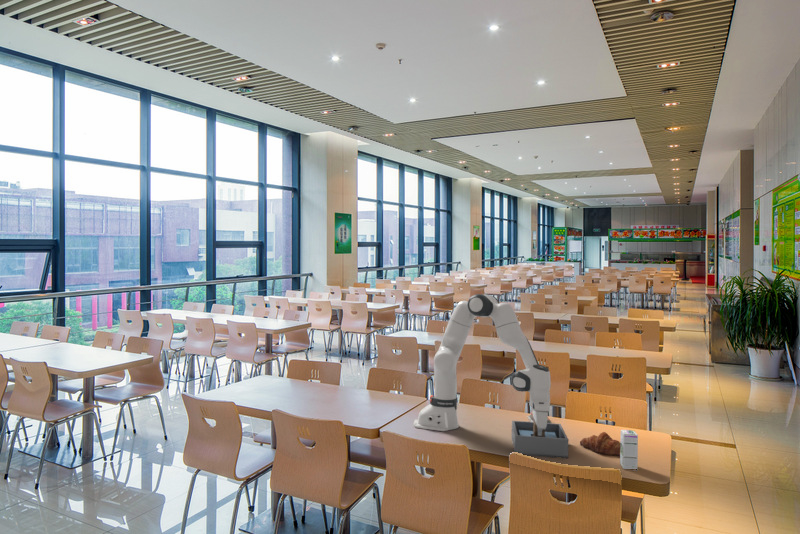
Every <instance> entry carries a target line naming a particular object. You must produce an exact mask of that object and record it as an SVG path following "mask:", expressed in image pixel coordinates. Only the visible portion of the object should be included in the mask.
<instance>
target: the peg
mask: <svg viewBox="0 0 800 534" xmlns="http://www.w3.org/2000/svg"><path fill="white" fill-rule="evenodd" d="M537 431H538V428H537V425H536V423H535V422H534V424H533V436H536V437H545V429H543V430H542V436H538V434H537Z"/></svg>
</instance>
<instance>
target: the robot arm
mask: <svg viewBox="0 0 800 534" xmlns="http://www.w3.org/2000/svg"><path fill="white" fill-rule="evenodd" d="M477 317H480V318H491V320H492V321H493V324H494V327H495V329H496V330H495V332H496V334H497V337H498V339H499V341H500V342H501V343H502V344H504V345H505V346H509V347H512V348H513V349H515V350H516V351H518V353H519V355H520V356H521V359H522V361H523V364H524V366H525V368H524V369H520V370H516V371H514V372H513V373H512V375H511V379H510V382H511V385H512V387H513V389H514V390H515V391H516V392H528V393H529V403H528V404H529V407H531V409H532V411H533V417H534V420H535V423H536V425H537V428H538V431H537V434H538V436H542V430H543V429H546V426H547V418H549V417H548V416H549V412H550V411H551V410H550V408H551V393H550V389H551V387H552V386H551V385H552V383H551V372H550V369H549V368H548V367H547V366H545V365H542V364H540V363H539V361H538V360H537V358H536V355H535V352H534V350H533V347H532V345H531V344H530V341H529V339H528V338H527V336H526V335H525V334H524V333H523V330H522V328H521V325H520V322H519V319H518V317H517V314H516V312H515V309H514V308H513V306H512V305H511V304H510V303H508V302H500V301H499V299H497V297H495V296H493V295H489V294H487V293H486V294H485V293H484V294H483V293H475V294H473V295H472V296H471V297H470V298H469V299H468V300H460V301H459V302H458V303H457V304H456V306H455V308H454V309H453V310H452V313H451V316H450V318H449V320H448V322H447V325H446V328H445V331H444V334H443V336H442V339H441V343H440V345H439V348H438V350H437V352H436V353H435V355H434V357H433V377H434V388H433V389H434V393H433V394H434V395H433V394H432V395H430V396H429V404H428V405H425V407H423V408H422V409H421V410H420V411H419V412H418V417H417V418H415V419H414V421H413V427H414V428H417V429H422V430H423V429H424V430H431V431H439V432H448V431H451V430H456V429H458V428H459V427H460V425H459V421H458V412H457V409H458V397H457V392H458V387H457V386H458V382H457V381H458V378H457V363H458V361H459V358H460V357H461V354H462V351H463V348H464V346H465V343H466V341H467V337H468V335H469V333H470V331H471V328H472V326H473V322H474V321H475V318H477Z"/></svg>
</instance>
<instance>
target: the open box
mask: <svg viewBox="0 0 800 534" xmlns="http://www.w3.org/2000/svg"><path fill="white" fill-rule="evenodd" d="M533 424H534V422H530V421H523V420H521V421H520V420H511V442H513V443H512V447H514V448H513V452H518V453H522V454H526V455H525V456H529V457H530V456H534V457H545V458H546V457H547V458H556V457H561V458H560V459H569V438H568V435H567V434H566V432H565V430H564V429H563V428H564V427H563V426H562V424H561V423H555V422H554V423H552V422H551V423H547V426H546V429H545V437H536V436H533Z"/></svg>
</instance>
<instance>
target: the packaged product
mask: <svg viewBox="0 0 800 534" xmlns="http://www.w3.org/2000/svg"><path fill="white" fill-rule="evenodd" d="M530 414H531V415H530ZM527 417H528V418H527ZM526 418H527V419H528V420H529V422H535V420H534V417H533V410H532V411H530V413H529V415H527V416H526ZM551 421H552V420H551V419H550V418H549V417H548V418H547V423H552V422H551Z"/></svg>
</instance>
